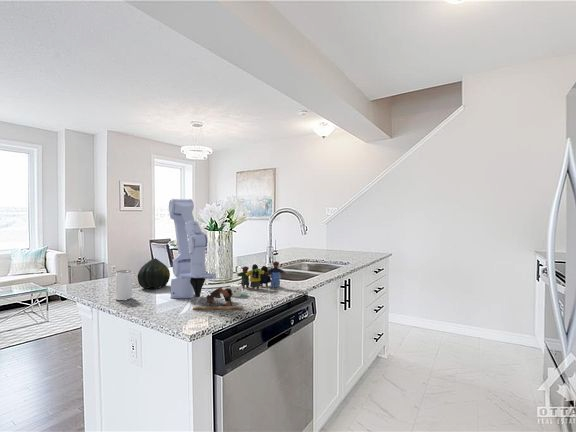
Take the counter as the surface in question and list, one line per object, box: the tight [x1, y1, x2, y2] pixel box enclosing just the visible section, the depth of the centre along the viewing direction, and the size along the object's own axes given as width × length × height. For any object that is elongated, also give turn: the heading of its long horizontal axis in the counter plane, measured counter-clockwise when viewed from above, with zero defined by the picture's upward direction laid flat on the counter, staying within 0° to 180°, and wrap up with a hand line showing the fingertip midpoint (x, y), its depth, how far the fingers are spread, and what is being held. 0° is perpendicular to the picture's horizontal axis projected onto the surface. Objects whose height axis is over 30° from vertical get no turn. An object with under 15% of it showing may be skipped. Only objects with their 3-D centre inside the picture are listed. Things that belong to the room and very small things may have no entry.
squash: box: [137, 258, 171, 290], centre depth 163 cm, size 14×15×15 cm
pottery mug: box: [205, 286, 233, 306], centre depth 132 cm, size 12×10×8 cm
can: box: [114, 269, 133, 301], centre depth 141 cm, size 6×6×12 cm
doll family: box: [236, 261, 287, 290], centre depth 161 cm, size 23×9×13 cm, turn 118°
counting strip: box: [192, 305, 244, 311], centre depth 126 cm, size 19×2×1 cm, turn 90°
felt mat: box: [239, 292, 249, 298], centre depth 147 cm, size 7×7×1 cm
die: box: [229, 283, 242, 298], centre depth 146 cm, size 5×5×5 cm
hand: (197, 296), depth 134 cm, fingers closed
